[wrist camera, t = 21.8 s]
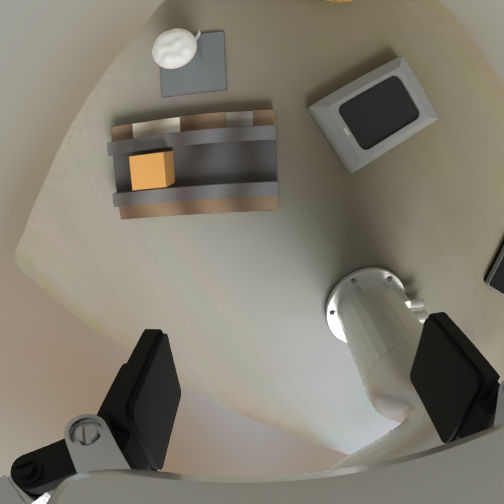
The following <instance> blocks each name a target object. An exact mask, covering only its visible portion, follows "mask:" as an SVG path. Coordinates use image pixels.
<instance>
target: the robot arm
mask: <svg viewBox="0 0 504 504" xmlns="http://www.w3.org/2000/svg"><path fill="white" fill-rule="evenodd" d="M388 276H389V277H388ZM351 279H353V280H351ZM423 306H424V300H423V299H422V298H418V299H413V300H410V299H409V298H407V296H406V291H405V288H404V286H403V284H402V282H401V281H400V279H399V278H398V277H397V276H396V275H395V274H393V273H392V272H390V271H389V270H386V269H383V268H378V267H367V268H363V269H359V270H357V271H355V272H352V273H351V274H349V275H347V276H346V277H344V278H343V279H342V280H341V281H340V282H339V283H338V284H337V285H336V286H335V288H334V289H333V290H332V292H331V294H330V296H329V298H328V301H327V304H326V319H327V323H328V325H329V328H330V330H331V331H332V332H333V334H334V335H335V336H336V337H338V338H339V339H340V340H342V341H344V342H347V344H348V346H349V349H350V351H351V354H352V356H353V359H354V362H355V364H356V367H357V369H358V372H359V374H360V377H361V380H362V382H363V385H364V387H365V390H366V393H367V395H368V398H369V400H370V402H371V404H372V406H373V407H374V408H375V410H376V411H378V412H379V413H380V414H381V415H382V416H384V417H386V418H388V419H390V420H392V421H395V422H398V423H401V424H400V425H399V426H397V427H396V428H394V429H393V430H391V431H390V432H389V433H388V434H386V435H384V436H383V437H381V438H379V439H378V440H376V441H374V442H373V443H371V444H369V445H367V446H366V447H364V448H362V449H360V450H358V451H357V452H355V453H353V454H351V455H349V456H348V457H346V458H344V459H342V460H341V461H339V462H337V463H336V464H334V465H333V466H332V467H330V468H329V469H328V470H327V471H320V472H311V473H300V474H287V475H270V476H217V475H193V474H181V473H170V472H159V471H157V469H160V470H161V469H162V468H163V464H164V460H165V456H166V452H167V448H168V444H169V440H170V436H171V432H172V428H173V424H174V420H175V416H176V413H177V409H178V405H179V401H180V397H181V389H180V385H179V381H178V377H177V373H176V369H175V365H174V361H173V356H172V352H171V348H170V344H169V339H168V335H167V334H163V332H162V330H160V329H145V330H144V332H143V333H142V335H141V337H140V339H139V341H138V343H137V345H136V347H135V349H134V350H133V352H132V354H131V356H130V358H129V360H128V362H127V364H126V363H125V364H123V365H122V367H121V368H120V370H119V372H118V374H117V376H116V378H115V380H114V382H113V384H112V386H111V387H110V390H109V391H108V393H107V395H106V397H105V400H104V401H103V403H102V405H101V407H100V409H99V411H98V414H97V415H93V414H84V415H80V416H77V417H76V418H74V419H72V420H71V421H70V422H69V423H68V425H67V426H66V427H65V431H64V436H65V439H62V440H60V441H58V442H55V443H53V444H50V445H48V446H46V447H43V448H41V449H38V450H35V451H33V452H30V453H27V454H25V455H22V456H20V457H19V458H17V459H16V460H15V462H14V463H13V465H12V467H11V476H9V477H7V476H5V475H4V476H3V477H1V478H0V504H504V381H503V382H502V383H501V384H499V383H498V379H499V377H500V376H499V375H498V373H497V372H496V371H495V370H494V368H493V367H492V366H491V365H490V363H489V362H488V361H487V360H486V359H485V357H484V356H483V355H482V354H481V353H480V352H479V350H478V349H477V348H476V347H475V346H474V345H473V343H472V342H471V341H470V340H469V339H468V338H467V336H466V335H465V334H464V333H463V332H462V331H461V330H460V329H459V327H458V326H457V325H456V324H455V323H454V322H453V321H452V320H451V319H450V318H449V317H448V315H447V314H446V313H444V312H440V313H433V314H430V315H429V316H428V313H427V311H426V310H422V311H415V312H412V311H411V310H410V308H421V307H423ZM421 323H424V325H422V324H421Z"/></svg>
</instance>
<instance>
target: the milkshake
mask: <svg viewBox="0 0 504 504" xmlns="http://www.w3.org/2000/svg"><path fill="white" fill-rule="evenodd" d="M200 34H201V31H200V30H199V31H198V33H197V35H196V37H194V36H193V34H192V33H190V32H189V31H187V30H185V29H179V28H175V29H171V30H168V31H165V32H163V33H162V34H160V35H159V36H158V37H157V38H156V40H155V42H154V44H153V47H152V56H153V59H154V60H155V62H156V63H157V64H158V65H159V66H161V67H163V68H166V69H168V70H171V71H173V72H175V73H177V74H179V75H181V76H185V77H188V78H190V77H193V76H196V75H198V73H199V72H200V71H201V70H202V66H203V60H202V57H201V55H200V52H199V50H198V46H197V42H196V41H197V40H198V38H199V36H200Z"/></svg>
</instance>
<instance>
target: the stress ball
mask: <svg viewBox="0 0 504 504" xmlns="http://www.w3.org/2000/svg"><path fill="white" fill-rule="evenodd" d="M325 1H329V2H338V3H343V2H350V1H353V0H325Z"/></svg>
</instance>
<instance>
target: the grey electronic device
mask: <svg viewBox="0 0 504 504" xmlns="http://www.w3.org/2000/svg"><path fill="white" fill-rule="evenodd" d="M307 110H308V111H309V112H310V114H311V115H312V117H313V118H314V120H315V121H316V123H317V124H318V126H319V127H320V129H321V130H322V132H323V133H324V135H325V136H326V138H327V139H328V141H329V143H330V144H331V146H332V147H333V149H334V150H335V152H336V154H337V155H338V157H339V158H340V160H341V162H342V163H343V165H344V167H345V168H346V170H347V172H349V173H351V174H352V173H354V172H355V171H357V170H359V169H361V168H362V167H364V166H365V165H367V164H369V163H370V162H372V161H373V160H375V159H376V158H378V157H379V156H381V155H383V154H384V153H386V152H387V151H389V150H390V149H392V148H394V147H395V146H397V145H398V144H400V143H401V142H403V141H404V140H406V139H408V138H409V137H411V136H412V135H414V134H416V133H417V132H419V131H420V130H422V129H423V128H425V127H427V126H428V125H430V124H431V123H433V122H434V121H436V120H438V119H439V118H438V116H437V114H436V112H435V110H434V108H433V106H432V104H431V102H430V100H429V99H428V97H427V95H426V93H425V91H424V90H423V88H422V86H421V84H420V83H419V81H418V79H417V78H416V76H415V74H414V73H413V71H412V69H411V68H410V66H409V65H408V63H407V61H406V60H405V58H404V57H403V55H401V56H399V57H397V58H395V59H393V60H391V61H390V62H388V63H386V64H384V65H382V66H380V67H378V68H376V69H374V70H372V71H370V72H369V73H367V74H365V75H363V76H361V77H359V78H358V79H356V80H354V81H352V82H350V83H349V84H347V85H345V86H343V87H341V88H340V89H338V90H336V91H335V92H333V93H331V94H329V95H328V96H326V97H324V98H323V99H321V100H319V101H318V102H316V103H314V104H313V105H311V106H309V107H308V108H307Z"/></svg>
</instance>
